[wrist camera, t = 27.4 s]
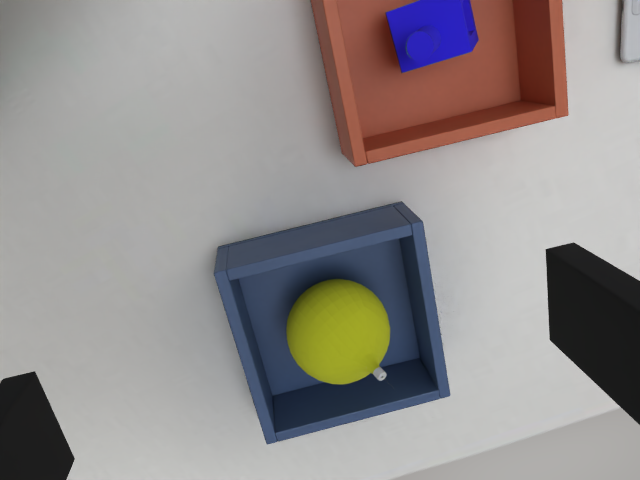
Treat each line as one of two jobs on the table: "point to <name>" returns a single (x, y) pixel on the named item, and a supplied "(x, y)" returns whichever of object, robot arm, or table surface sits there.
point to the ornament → (338, 332)
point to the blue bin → (320, 265)
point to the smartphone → (630, 31)
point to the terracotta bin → (439, 77)
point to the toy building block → (431, 31)
